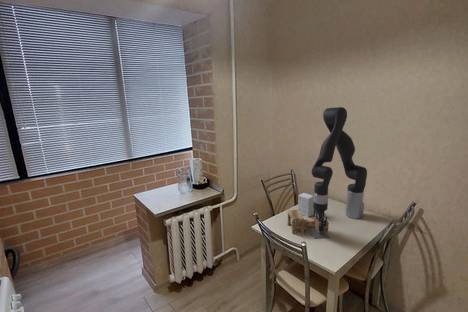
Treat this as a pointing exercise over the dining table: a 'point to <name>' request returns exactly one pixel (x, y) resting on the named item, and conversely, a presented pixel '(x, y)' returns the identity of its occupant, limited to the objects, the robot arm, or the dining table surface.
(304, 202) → the small box
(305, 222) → the beech rod
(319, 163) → the robot arm
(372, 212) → the dining table surface
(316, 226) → the walnut block
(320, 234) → the slate coaster
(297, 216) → the oak bridge
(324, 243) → the dining table surface
